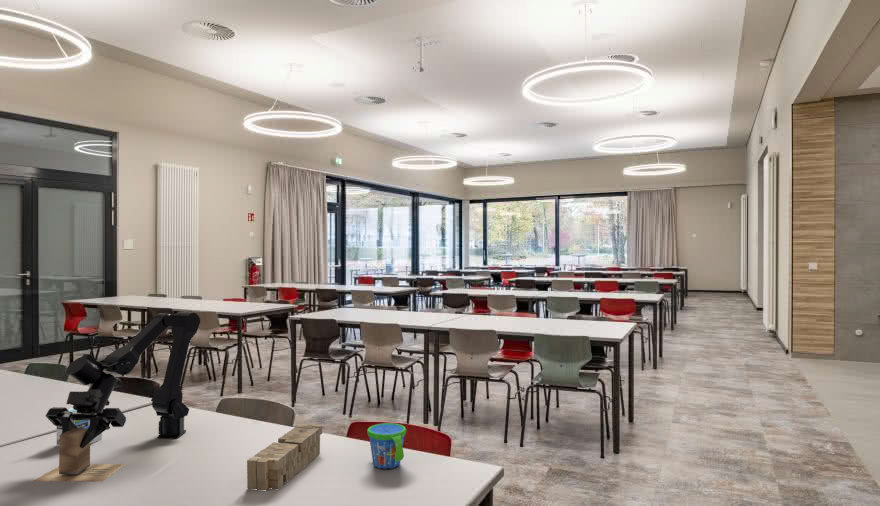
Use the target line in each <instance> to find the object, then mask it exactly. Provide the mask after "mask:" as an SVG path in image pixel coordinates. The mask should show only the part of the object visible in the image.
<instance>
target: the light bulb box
mask: <svg viewBox="0 0 880 506" xmlns="http://www.w3.org/2000/svg"><path fill="white" fill-rule="evenodd" d="M67 410H68V411H69V412H72V413H76V412H77V410H74V409H73V407H70V408H67ZM75 425H76V426H77V427H78V428H88V427H89V425H90V420H76V421H75ZM61 434H62V426H56V439H55V440H56V442H55V443H56V447H59V442H60V435H61ZM102 439H103V432H102V433H101V434H99V435H98V436H97V437H96V438H94V439H93V440H92V441H91V442H90V445H91V444H94V443H96V442H99V441H102Z"/></svg>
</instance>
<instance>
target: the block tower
mask: <svg viewBox="0 0 880 506" xmlns="http://www.w3.org/2000/svg"><path fill="white" fill-rule="evenodd" d="M321 435H323V425H322V424H306V423H298V424H296V425H295V426H294V427H293V428H292V429H290V430H289V431H288V432H286V433H284V434H283V435H282V436H280V437H279V438H278V439H277V442H271V444H268V445H267V447H265V448H263V449H261V450H260V451H259V452H257V453H256V454H253V456H251V457H249V458H248V459H247V460H246V478H247V479H246V481H247V482H246V485H247V487H246V488H248V489H257V490H256V491H258V490H267V489H268V490H270V489H269V488H272V489H271V490H275V489H279V488H280V487H281V486H282V487H283V486H284V482H286V483H288V482H289V481H290V480H292V478H293V477H295V476H296V475H297V474H298V473H299V472H301V471H302V470H303V469H304V468H305V467H306V466H308V465H309V464H310V463H311V462H312V461H313V460H314V459H315V458H317V456H318V455H319V454H321ZM314 457H315V458H314ZM313 458H314V459H313ZM312 459H313V460H312ZM311 460H312V461H311ZM310 461H311V462H310ZM309 462H310V463H309ZM305 465H306V466H305ZM304 466H305V467H304ZM302 468H303V469H302ZM301 469H302V470H301ZM300 470H301V471H300ZM296 473H297V474H296ZM288 480H289V481H288ZM287 481H288V482H287ZM282 487H281V488H282ZM281 488H280V489H281ZM248 489H247V490H248ZM280 489H279V490H280ZM268 490H267V491H268Z"/></svg>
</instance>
